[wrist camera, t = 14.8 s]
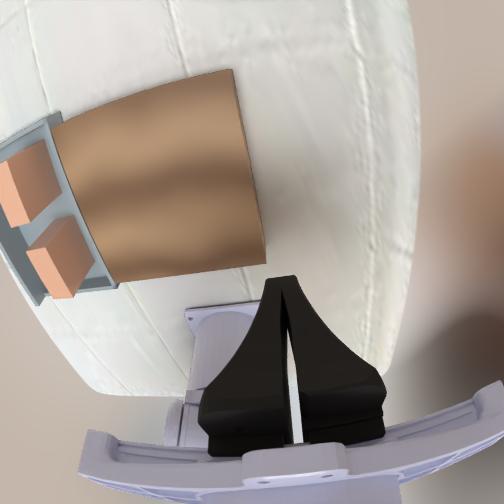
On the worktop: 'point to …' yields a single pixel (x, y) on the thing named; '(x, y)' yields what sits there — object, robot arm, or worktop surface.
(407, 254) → the worktop surface
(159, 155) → the board
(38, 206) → the tile near
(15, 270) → the tray
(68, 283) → the tile far
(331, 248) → the worktop surface
